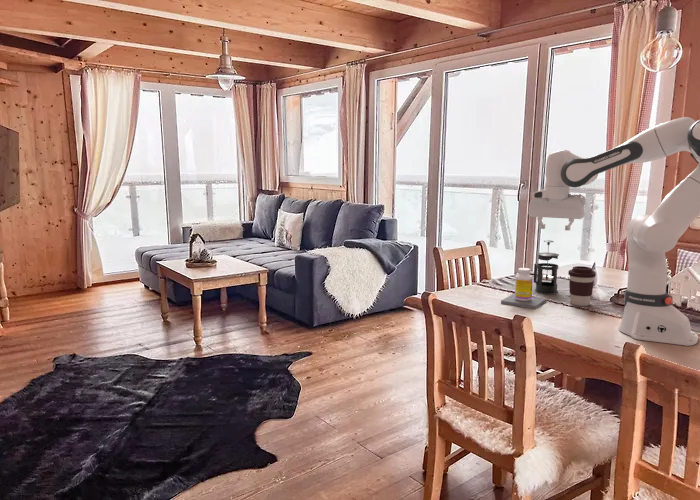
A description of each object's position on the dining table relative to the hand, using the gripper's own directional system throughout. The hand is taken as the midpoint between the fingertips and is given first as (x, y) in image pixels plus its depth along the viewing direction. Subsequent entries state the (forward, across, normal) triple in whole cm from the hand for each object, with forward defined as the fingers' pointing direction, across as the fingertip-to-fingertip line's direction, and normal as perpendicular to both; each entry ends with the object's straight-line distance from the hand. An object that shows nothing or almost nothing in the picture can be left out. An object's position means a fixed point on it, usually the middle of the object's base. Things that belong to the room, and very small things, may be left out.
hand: (554, 229), depth 194 cm
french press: (+31, +10, -24) cm, 41 cm away
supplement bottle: (+30, +11, 0) cm, 32 cm away
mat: (+31, +11, 0) cm, 33 cm away
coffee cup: (+31, -8, -11) cm, 34 cm away
